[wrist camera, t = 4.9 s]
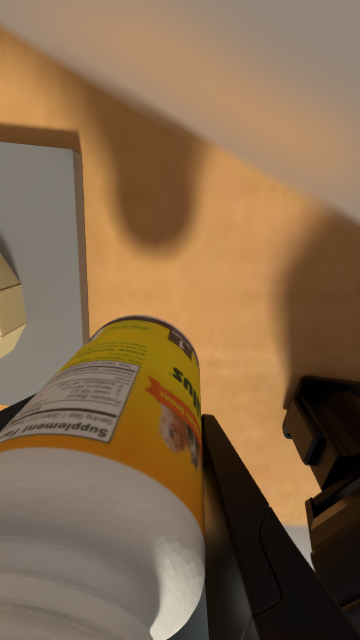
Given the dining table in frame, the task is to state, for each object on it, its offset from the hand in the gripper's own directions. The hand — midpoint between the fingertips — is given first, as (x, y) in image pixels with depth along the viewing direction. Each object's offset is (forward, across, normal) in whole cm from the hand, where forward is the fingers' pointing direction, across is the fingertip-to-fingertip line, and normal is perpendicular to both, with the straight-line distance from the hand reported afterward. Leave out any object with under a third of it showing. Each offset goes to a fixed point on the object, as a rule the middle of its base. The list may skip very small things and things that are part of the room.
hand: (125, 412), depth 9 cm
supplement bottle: (+4, 0, 0) cm, 4 cm away
